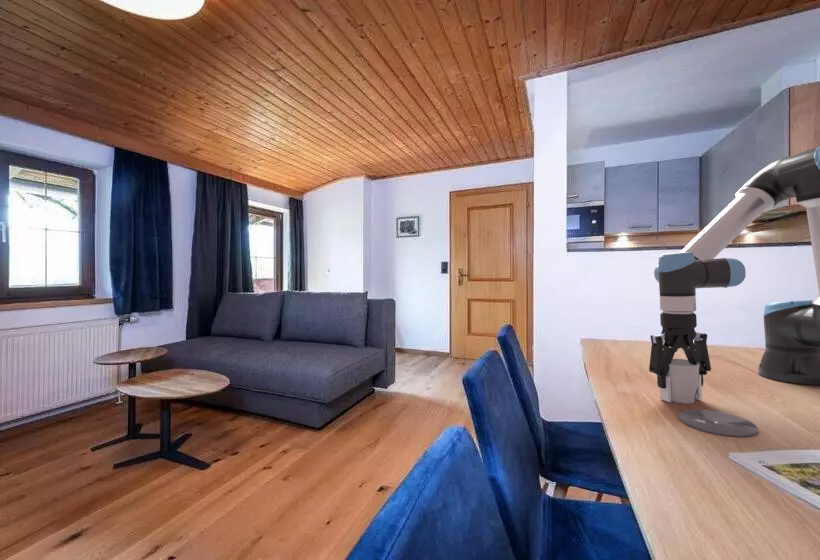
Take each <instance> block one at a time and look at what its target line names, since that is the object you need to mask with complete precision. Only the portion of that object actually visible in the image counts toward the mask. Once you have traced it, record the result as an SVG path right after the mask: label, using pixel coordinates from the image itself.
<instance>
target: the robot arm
mask: <svg viewBox="0 0 820 560" xmlns="http://www.w3.org/2000/svg"><path fill="white" fill-rule="evenodd" d="M734 197H735V198H734V199H733V200H732V201H731V202H730V203H729V204H728V205H727V206H726V207H725V208H724V209H723V210H722V211H721V212H719V214H717V216H715V217H714V218H713V220H712V221H710V222H709V223H708V225H706V226H705V227H704V228H703V229H702V230H701V231H700V232H699V233H698V234H697V235H696V236H695V237H694V238H693V239H691V240H690V241H689V243H688V244H687V245H685V246H684V248H683V249H681V251H680V252H671V253H663V254H660V256H659V257H658V264H657V265H656V266H655V268H654V271H653V272H654V273H653V274H654V275H653V276H654V279H655V280H656V281H657V283H658V287H659V288H658V289H659V291H658V292H659V310H660V311H661V313H660V315H659V319H660V326H661V328H662V330H661V331H660V332H661V333H659V334H651V335H650V341H651V348H650V350H651V351H650V358H649V367H648V371H649V372H650V373H653V374H655V375H656V377H657V378H656V381H657V387H658V388H659V396H660V397H659V398H660V400H661V401H662V400H663V401H665V402H667V403H671V402H672V401H671V383H670V377H669V376H667V374H668V371H669V364H671V362H672V359H674V355H675V354H676V353H677V352H678V349H682V350H683V352H684V355H685V357H686V360H688V361H689V363H691V364H692V365H697V362H698V363H699V364H700V367H699V383H698V389H697V394H696V396H695V399H694V400H698V401H703V394H702V392H703V391H702V388H703V386H704V376H706V375H708V372H711V370H712V367H711V361H710V355H709V350H708V344H707V341H708V334H707V333H703V332H699V331H698V332H697V331H696V330H695V328H697V327H698V325H697V314H696V313H695V312H696V311H697V299H696V298H697V295H696V293H697V292H696V291H697V289H710V288H711V289H712V288H714V289H716V288H723V289H727V288H732V287H733V288H734V287H737V286H739V285H741V284H742V283H743V281H744V280H745V278H746V275H747V274H746V273H747V271H746V266H745V265H744V264H743V262H742V261H741V260H739V259H736V258H732V257H731V258H728V257H721V258H716V257H717V256H718V255H719V254H720V253H721V252H722V251H723V250H725V249H726V248H727V247H728V246H729V244H730V243H732V242H733V240H735V239H736V238H737V237H738V236H739V235H740V234H741V233H742V232H744V230H746V229H747V227H749V225H751V223H753V222H754V221H755V220H756V219H757V218H758V217H759V216H760V215H761V214H762V213H767V212H769V211H770V210H772V209H773V208H774V207H775V206H776V205H778V204H780V203H781V202H784V201H787V200H789V199H793V198H796V204H798V205H799V206H802V207H804V208H805V209H806V215H807V222H808V228H809V235H810V243H811V249H812V250H811V251H812V256H813V262H814V268H815V275H816V276H815V277H816V282H817V289H818V297H816V298H815V299H809V300H808V299H807V300H788V301H787V300H786V301H772V302H771V301H770V302H768V303H766V304H765V305H764V311H763V312H764V314H763V325H764V341H765V345H764V346H765V349H764V352H763V355H762V357H761V360H760V362H759V364H758V374H759V375H760V376H762V377H764V378H767V379H770V380H775V381H778V382H779V381H780V382H785V383H792V384H801V385H811V386H812V385H813V386H820V146H817V147H814V148H811V149H808V150H804V151H802V152H799V153H795V154H792V155H790V156H784V157H782V158H780V159H778V160H775V161H774V162H772V163H770V164H768V165H766V167H764V168H763V169H761V170H760V171H758V172H757V173H756V174H754V175H753V177H751V178H750V179H749V180H748V181H747V182H745V183H744V184H743V186H741V187H740V188H739V189H738V190H737V192H735V194H734Z"/></svg>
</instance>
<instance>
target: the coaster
mask: <svg viewBox="0 0 820 560" xmlns="http://www.w3.org/2000/svg"><path fill="white" fill-rule="evenodd" d="M678 418H679V421H680V422H681V423H683V424H685V425H686V426H688V427H690V428H693V429H696V430H699V431H700V432H701V431H702V432H704V433H705V432H706V433H709V434H714V435H720V436H725V437H735V438H746V437H751V436H754V435H755V436H756V434H758V427H757V425H756V424H755V423H754V422H752V421H750V420H748V419H745V418H743V417H740V416H737V415H735V414H730V413H725V412H723V411H716V410H711V409H710V410H709V409H686V410H681V411H680V412H679V413H678Z"/></svg>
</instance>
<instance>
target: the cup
mask: <svg viewBox="0 0 820 560" xmlns="http://www.w3.org/2000/svg"><path fill="white" fill-rule="evenodd" d="M699 367H700V364H699V363H698V362H697V365H692V364H691V363H689V361H688V359H686V358H685V359H684V358H673V359H672V362H671V364H669V371H668V374H667V376H669V377H670V383H671V402H675V403H677V404H685V405H686V404H687V405H688V404H689V405H690V404H693V403H694V402H695V400H696V399H695V396H696V394H697V389H698V383H699Z"/></svg>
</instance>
